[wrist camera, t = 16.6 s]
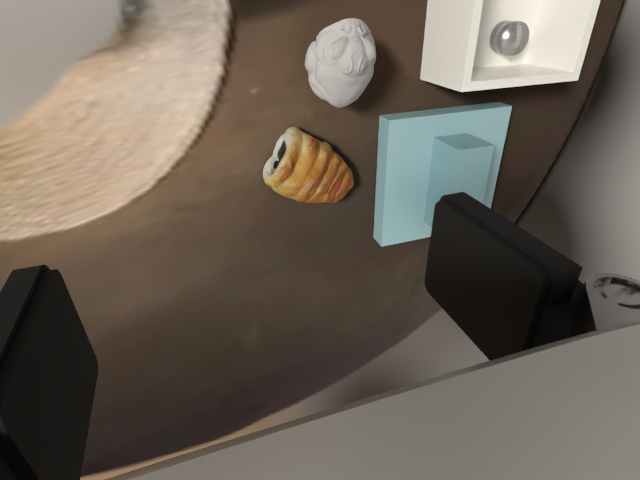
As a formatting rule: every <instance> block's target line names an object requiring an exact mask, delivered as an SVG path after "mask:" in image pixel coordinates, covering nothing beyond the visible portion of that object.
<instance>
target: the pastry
mask: <svg viewBox="0 0 640 480" xmlns="http://www.w3.org/2000/svg"><path fill="white" fill-rule="evenodd" d="M263 178H264V181H265V183H266V185H268V186H270V187H271V188H272V189H273V190H274V191H275V192H277V193H278V194H280V195H283V196H284V197H288V198H292V199H294V200H296V201H302V202H306V203H321V202H324V203H334V202H338V201H339V200H341V199H342V198H343V197H344V196H345V195H346V194H347V193H348V191H349V190H350V189H352V187H353V186H354V180H353V174H352V171H351V169H350V168H349V167H348V166H347V165H346V163H345V162H344V161H343V159H342V158H341V157H340V156H339V155H338V154H337V153H335V152H334V151H333V150H332V148H331V146H330V145H329V144H328V143H326V142H321V141H319V140H318V139H316V138H314V137H312V136H310V135H308V134H306V133H304V132H302V131H301V130H300V129H299V128H298V127H290V128H288V129H287V131H286V132H285V134H283V135H281V137H280V138H279V140H278V141H277V143H276V147H275V149H274V152H273V155H272V157H271V158H269V160H268V161H267V162H266V164H265V167H264V169H263Z"/></svg>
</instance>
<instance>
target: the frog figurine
mask: <svg viewBox="0 0 640 480" xmlns="http://www.w3.org/2000/svg"><path fill="white" fill-rule="evenodd" d="M316 40H317V41H313V42H312V43H311V44H310V46H309V48H308V50H307V54H306V60H305V67H306V70H307V71H308V75H309V84H310V86H311V88H312V90H313V91H314V93H315V94H316V95H317V96H319V97H320V98H321V99H323V100H327V101H328V102H329V103H330V104H331V105H333V106H335V107H338V108H340V107H345V106H347V105H349V104H351V103H353V102H354V101H355V100H357V99H358V98H359V96H360V95H361V94H362V93H363V91H364V90H365V88H366V87H367V84H368V83H369V82H370V80H371V78H372V76H373V72H374V64H375V61H376V48H375V42H374V39H373V37H372V36H371V32H370V30H369V28H368V27H367V25H366V24H365V23H364V22H363V21H361V20H360V19H356V18H347V19H343V20H341V21H339V22H336V23H334V24H332V25H330V26H328V27H326V28H324V29H323V30H322V31H321V32H319V35H318V36H317V37H316Z"/></svg>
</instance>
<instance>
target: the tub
mask: <svg viewBox="0 0 640 480" xmlns="http://www.w3.org/2000/svg"><path fill="white" fill-rule="evenodd" d="M599 4H600V0H428V3H427V14H426V24H425V34H424V45H423V55H422V65H421V76H420V79H421V80H424V81H427V82H430V83H433V84H437V85H440V86H443V87H446V88H450V89H453V90H456V91H459V92H468V91H478V90H488V89H497V88H507V87H517V86H527V85H537V84H547V83H557V82H567V81H577V80H578V78H579V75H580V71H581V68H582V64H583V61H584V57H585V54H586V50H587V47H588V43H589V39H590V36H591V32H592V29H593V25H594V22H595V18H596V15H597V11H598V8H599ZM502 21H522V22H524V23H526V24H527V26H528V28H529V40H528V43H527V45H526V47H525V48H524V49H523V50H522V51H521V52H520V53H519V54H517V55H514V56H510V55H504V54H498V53H495V52H493V51H492V49H491V47H490V35H491V33H492V30H493V29H494V27H495V26H496V25H497V24H498V23H500V22H502Z"/></svg>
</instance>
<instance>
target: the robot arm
mask: <svg viewBox="0 0 640 480" xmlns="http://www.w3.org/2000/svg"><path fill="white" fill-rule="evenodd" d="M581 270H582V267H581V266H579V265H578V264H576V263H575V262H573V261H572V260H570V259H568V258H567V257H565V256H564V255H562V254H561V253H559V252H558V251H556V250H554V249H553V248H551V247H549V246H548V245H546V244H545V243H543V242H542V241H540V240H539V239H537V238H535V237H534V236H532V235H531V234H529V233H528V232H526V231H525V230H523V229H521V228H520V227H518V226H517V225H515V224H514V223H512V222H510V221H509V220H507V219H506V218H504V217H503V216H501V215H500V214H498V213H496V212H495V211H493V210H492V209H490V208H489V207H487V206H485V205H484V204H482V203H481V202H479V201H478V200H476V199H474V198H473V197H471V196H470V195H468V194H467V193H464V192H459V193H453V194H447V195H443V196H442V197H441V198H440V200H439V201H438V202H437V203H436V204H435V208H434V215H433V223H432V230H431V238H430V245H429V253H428V260H427V268H426V275H425V286H426V289H427V291H428V293H429V294H430V295H431V296H432V297H433V298H434V299H435V300H436V302H437V303H438V304H439V305H440V306H441V307H442V308H443V309H444V310H445V311H446V312H447V314H448V315H449V316H450V317H451V318H452V319H453V320H454V321H455V322H456V323H457V325H458V326H459V327H460V328H461V329H462V330H463V331H464V332H465V334H466V335H468V337H469V338H470V339H471V340H472V341H473V342H474V343H475V345H476V346H477V347H478V348H479V349H480V350H481V351H482V352H483V353H484V354H485V355H486V356H487V358H488V359H489V360H490V361H488V362H484V363H481V364H477V365H474V366H471V367H468V368H464V369H461V370H457V371H454V372H451V373H447V374H444V375H441V376H438V377H434V378H431V379H427V380H424V381H421V382H417V383H414V384H411V385H408V386H404V387H401V388H398V389H395V390H391V391H388V392H384V393H382V394H378V395H375V396H371V397H368V398H365V399H362V400H358V401H355V402H352V403H348V404H345V405H342V406H339V407H335V408H332V409H329V410H325V411H322V412H319V413H316V414H313V415H309V416H306V417H303V418H299V419H296V420H293V421H290V422H287V423H283V424H280V425H277V426H274V427H270V428H267V429H264V430H261V431H257V432H254V433H251V434H248V435H245V436H241V437H239V438H235V439H232V440H228V441H225V442H222V443H219V444H216V445H212V446H209V447H206V448H203V449H199V450H196V451H193V452H190V453H187V454H183V455H180V456H177V457H174V458H171V459H168V460H164V461H161V462H158V463H155V464H152V465H149V466H146V467H143V468H140V469H137V470H134V471H131V472H128V473H125V474H122V475H119V476H115V477H112V478H109V479H106V480H640V281H638V280H636V279H633V278H630V277H627V276H623V275H618V274H611V273H599V274H594V275H591V276H589V277H588V279H586V281H585V284H583V283H582V282H580V281H579V280H578V278H579V275H580V273H581ZM97 375H98V363H97V359H96V356H95V353H94V351H93V349H92V346H91V344H90V342H89V339H88V337H87V334H86V332H85V330H84V327H83V325H82V323H81V320H80V318H79V316H78V313H77V311H76V308H75V306H74V304H73V301H72V299H71V297H70V294H69V292H68V290H67V287H66V285H65V282H64V280H63V278H62V275H61V273H60V272H59V271H58V270H57V269H55V270H50V269H49V268H48V267H47V266H46V265H40V266H34V267H28V268H22V269H17V270H13V271H12V272H11V274H10V276H9V277H8V279H7V281H6V283H5V285H4V287H3V288H2V290H1V292H0V480H80V475H81V469H82V463H83V457H84V452H85V446H86V440H87V434H88V428H89V422H90V416H91V411H92V405H93V399H94V393H95V387H96V381H97Z"/></svg>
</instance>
